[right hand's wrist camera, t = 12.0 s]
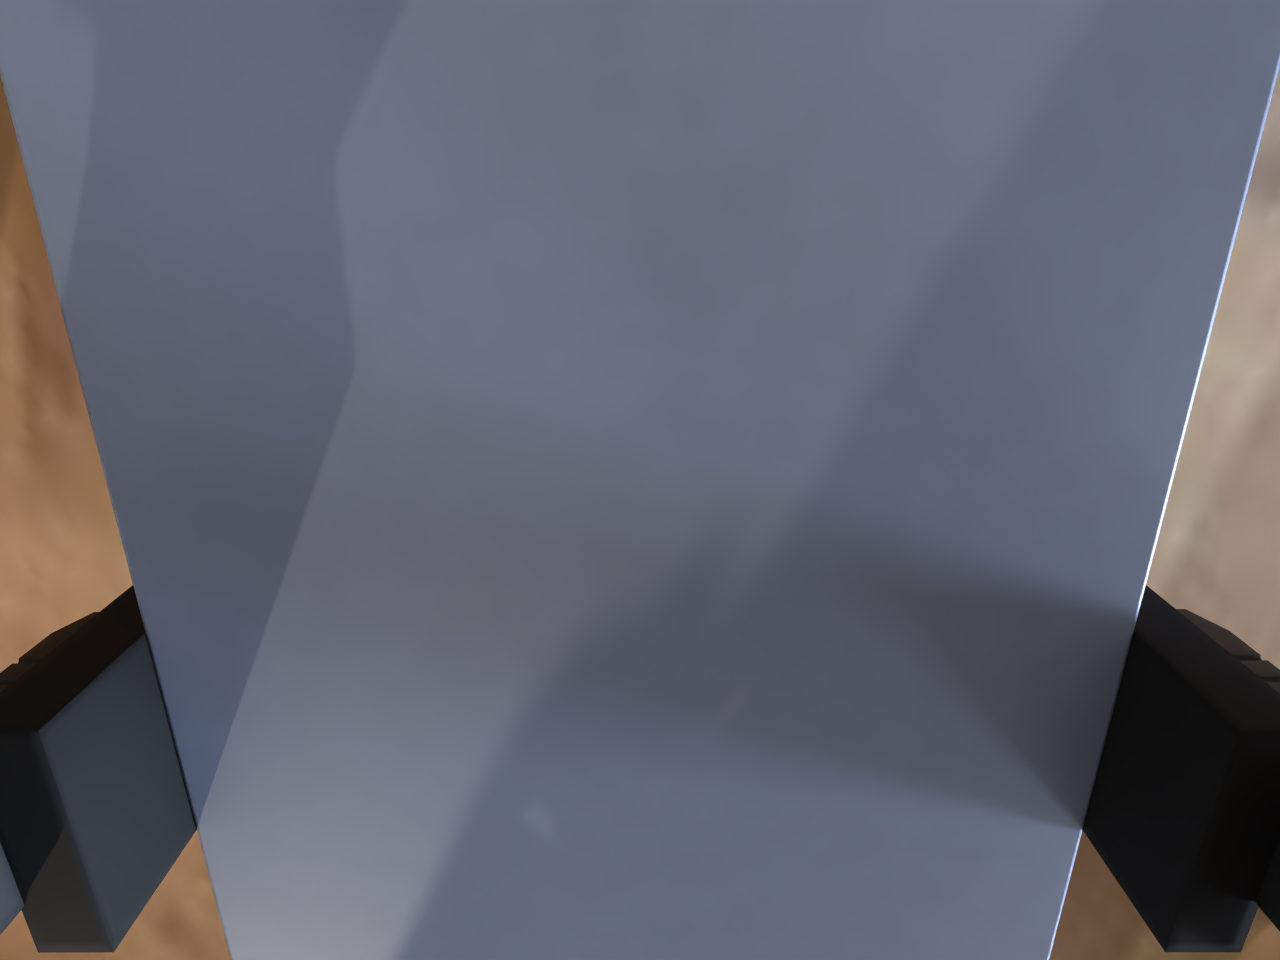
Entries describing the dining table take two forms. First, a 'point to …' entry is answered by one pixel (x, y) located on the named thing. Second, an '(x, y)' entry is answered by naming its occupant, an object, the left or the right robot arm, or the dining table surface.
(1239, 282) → the dining table surface
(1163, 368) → the cabinet
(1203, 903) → the right robot arm
